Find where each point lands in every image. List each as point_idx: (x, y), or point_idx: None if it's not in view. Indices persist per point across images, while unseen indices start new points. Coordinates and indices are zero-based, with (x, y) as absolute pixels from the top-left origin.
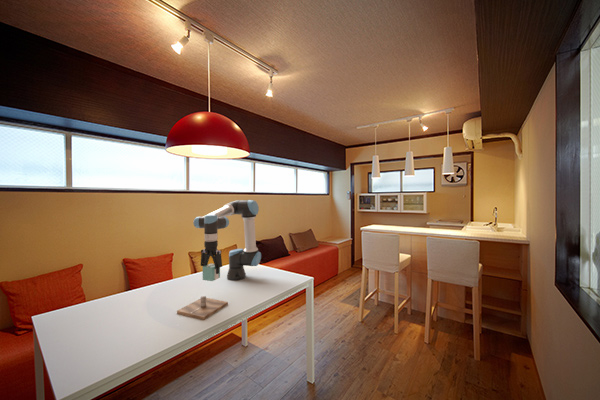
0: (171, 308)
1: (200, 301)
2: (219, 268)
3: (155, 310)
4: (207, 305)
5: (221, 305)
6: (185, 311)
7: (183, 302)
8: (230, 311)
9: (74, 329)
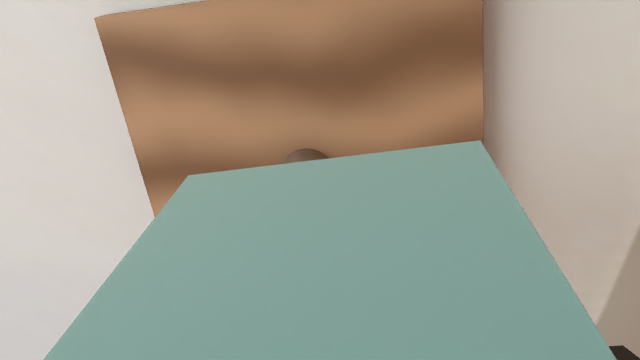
0: (64, 268)
1: (181, 113)
2: (576, 323)
3: (7, 331)
4: (331, 143)
5: (474, 74)
6: None
7: (17, 155)
8: (610, 72)
9: None
